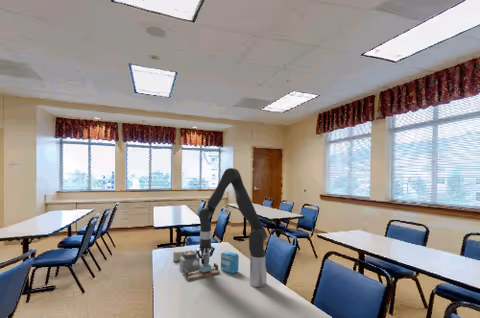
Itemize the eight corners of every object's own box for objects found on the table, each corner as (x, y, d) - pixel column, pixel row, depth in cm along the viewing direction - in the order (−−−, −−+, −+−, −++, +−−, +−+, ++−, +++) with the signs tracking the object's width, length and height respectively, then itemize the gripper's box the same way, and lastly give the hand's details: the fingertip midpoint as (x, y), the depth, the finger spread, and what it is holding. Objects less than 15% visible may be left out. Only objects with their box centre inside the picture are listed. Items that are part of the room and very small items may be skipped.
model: (188, 261, 178) (188, 251, 179) (173, 263, 174) (174, 252, 175) (187, 259, 181) (187, 249, 182) (173, 261, 177) (173, 251, 178)
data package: (220, 270, 162) (220, 252, 163) (224, 267, 166) (224, 250, 167) (234, 274, 156) (235, 255, 157) (238, 271, 160) (238, 254, 160)
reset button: (191, 255, 166) (191, 251, 167) (193, 256, 163) (193, 253, 163) (186, 256, 165) (186, 252, 165) (188, 257, 161) (188, 254, 162)
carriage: (207, 266, 161) (207, 252, 161) (211, 270, 155) (211, 255, 155) (198, 268, 158) (199, 253, 158) (202, 272, 152) (203, 256, 152)
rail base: (213, 268, 165) (213, 261, 165) (219, 273, 156) (219, 266, 156) (182, 275, 153) (183, 268, 154) (187, 281, 145) (187, 273, 145)
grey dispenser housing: (195, 265, 170) (195, 249, 171) (199, 269, 163) (200, 253, 164) (179, 268, 164) (179, 252, 165) (182, 272, 157) (183, 256, 157)
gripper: (212, 234, 164) (212, 260, 163) (193, 237, 157) (193, 263, 156) (217, 237, 158) (216, 263, 157) (197, 240, 151) (197, 267, 150)
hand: (205, 263), depth 156 cm, fingers closed on carriage, 2 cm apart
